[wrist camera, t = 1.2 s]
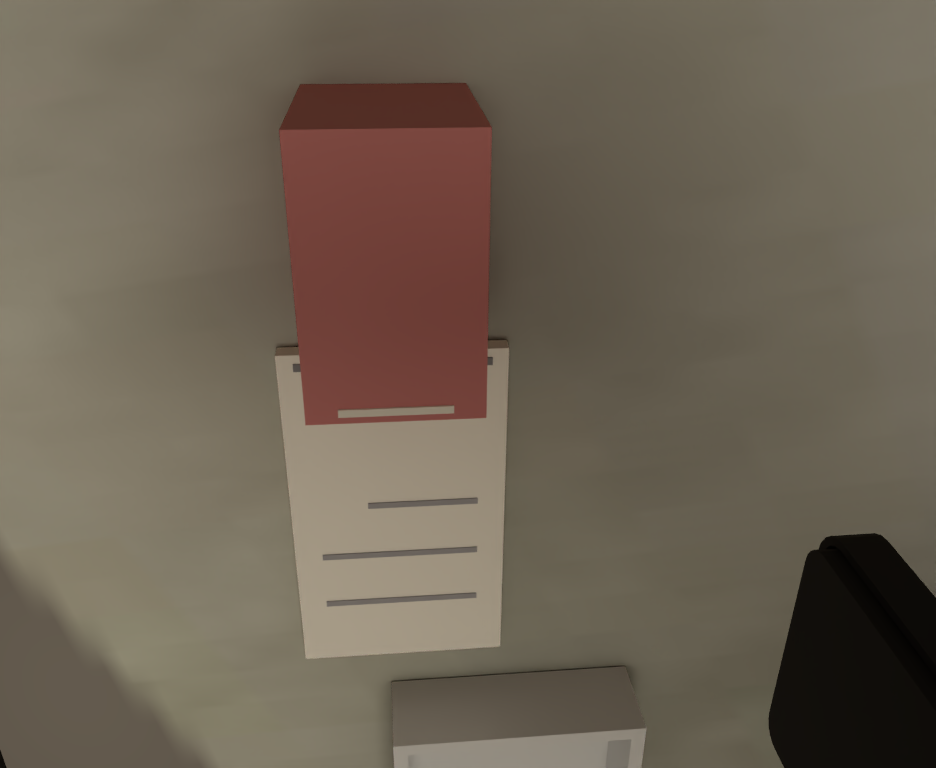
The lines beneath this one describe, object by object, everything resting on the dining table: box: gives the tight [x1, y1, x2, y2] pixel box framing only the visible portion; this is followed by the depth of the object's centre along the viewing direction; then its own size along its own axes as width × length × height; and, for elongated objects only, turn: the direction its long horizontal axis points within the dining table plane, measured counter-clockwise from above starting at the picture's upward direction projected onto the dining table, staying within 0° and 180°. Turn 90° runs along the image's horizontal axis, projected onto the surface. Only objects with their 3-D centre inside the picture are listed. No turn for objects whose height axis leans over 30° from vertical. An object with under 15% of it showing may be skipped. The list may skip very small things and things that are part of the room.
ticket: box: [275, 340, 509, 659], centre depth 30 cm, size 7×12×1 cm, turn 0°
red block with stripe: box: [279, 83, 492, 425], centre depth 23 cm, size 4×7×6 cm, turn 0°
